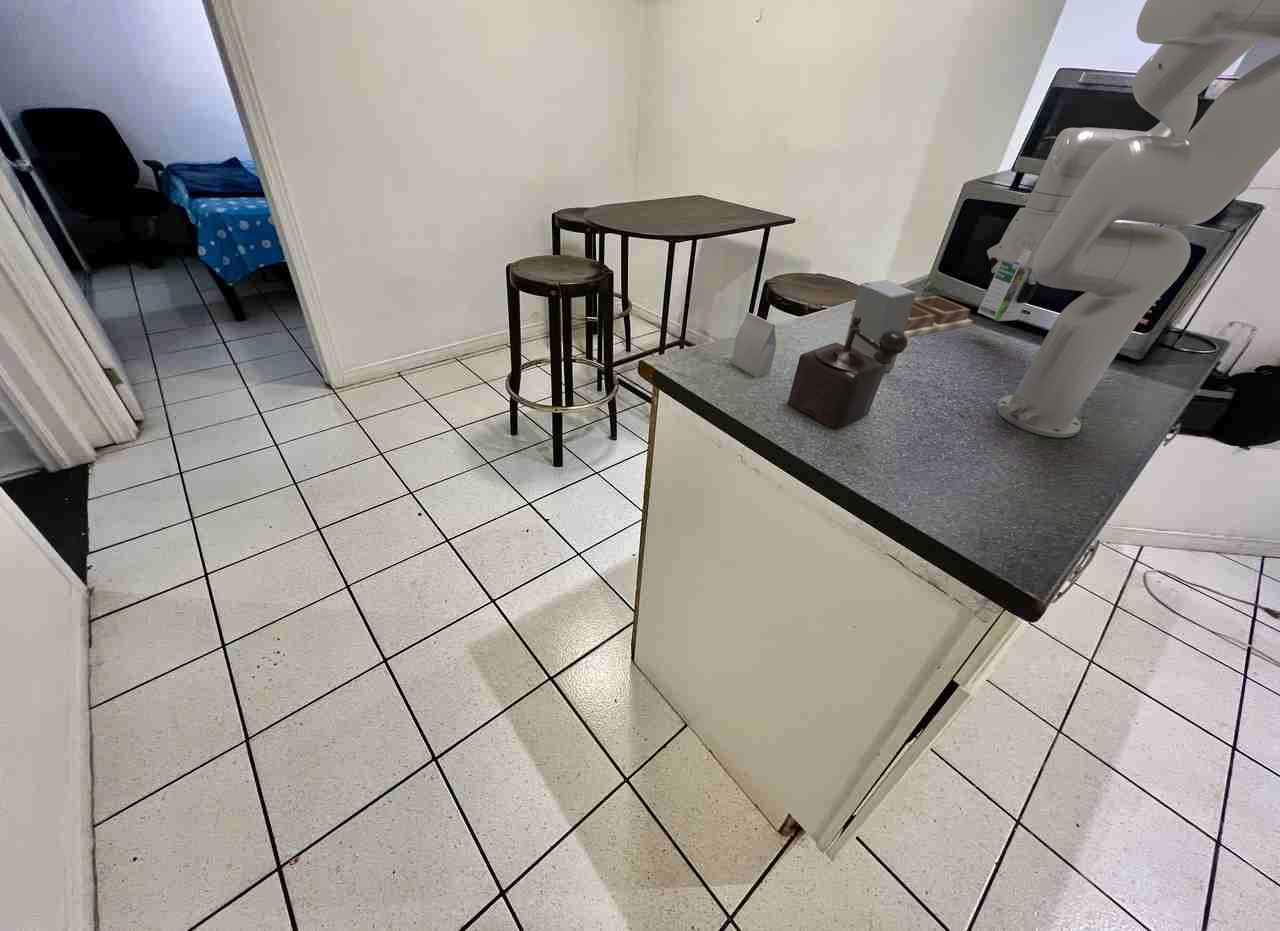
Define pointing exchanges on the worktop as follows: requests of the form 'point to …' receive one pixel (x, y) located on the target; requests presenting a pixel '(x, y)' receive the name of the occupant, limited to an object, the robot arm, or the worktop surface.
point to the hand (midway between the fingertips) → (1006, 296)
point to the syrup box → (1006, 290)
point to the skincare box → (880, 313)
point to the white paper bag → (755, 346)
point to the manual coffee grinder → (842, 378)
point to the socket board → (935, 316)
